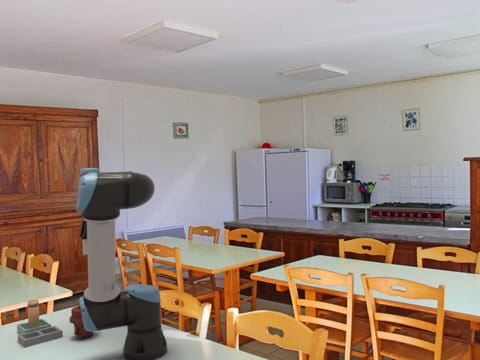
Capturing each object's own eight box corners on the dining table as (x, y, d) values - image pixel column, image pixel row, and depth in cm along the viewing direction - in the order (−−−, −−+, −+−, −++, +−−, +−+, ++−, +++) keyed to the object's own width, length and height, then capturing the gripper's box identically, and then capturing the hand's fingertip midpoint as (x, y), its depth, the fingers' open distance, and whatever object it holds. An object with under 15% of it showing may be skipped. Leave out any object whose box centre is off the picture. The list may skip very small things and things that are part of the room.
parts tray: (51, 331, 182) (51, 324, 182) (25, 338, 175) (24, 330, 175) (42, 325, 189) (42, 318, 189) (17, 332, 182) (17, 324, 182)
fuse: (41, 330, 182) (40, 300, 182) (30, 333, 179) (29, 303, 179) (38, 328, 185) (36, 299, 185) (27, 330, 182) (26, 301, 182)
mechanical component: (102, 332, 179) (89, 342, 169) (79, 331, 181) (65, 341, 171) (101, 301, 178) (87, 309, 169) (78, 301, 180) (63, 308, 171)
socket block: (62, 336, 175) (62, 330, 175) (24, 347, 166) (24, 340, 166) (55, 331, 181) (55, 325, 181) (17, 341, 172) (17, 335, 172)
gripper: (113, 205, 179) (115, 258, 180) (87, 203, 198) (89, 251, 199) (95, 207, 174) (97, 261, 175) (70, 204, 193) (72, 254, 193)
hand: (93, 256), depth 187 cm, fingers open, 13 cm apart
